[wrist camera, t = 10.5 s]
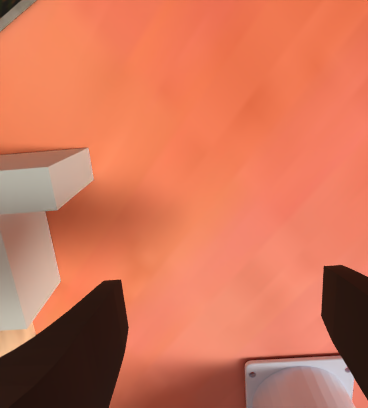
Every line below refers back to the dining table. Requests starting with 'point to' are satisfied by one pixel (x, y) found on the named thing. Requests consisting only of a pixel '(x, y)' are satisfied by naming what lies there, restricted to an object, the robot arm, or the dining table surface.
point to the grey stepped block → (33, 227)
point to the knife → (12, 10)
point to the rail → (15, 338)
